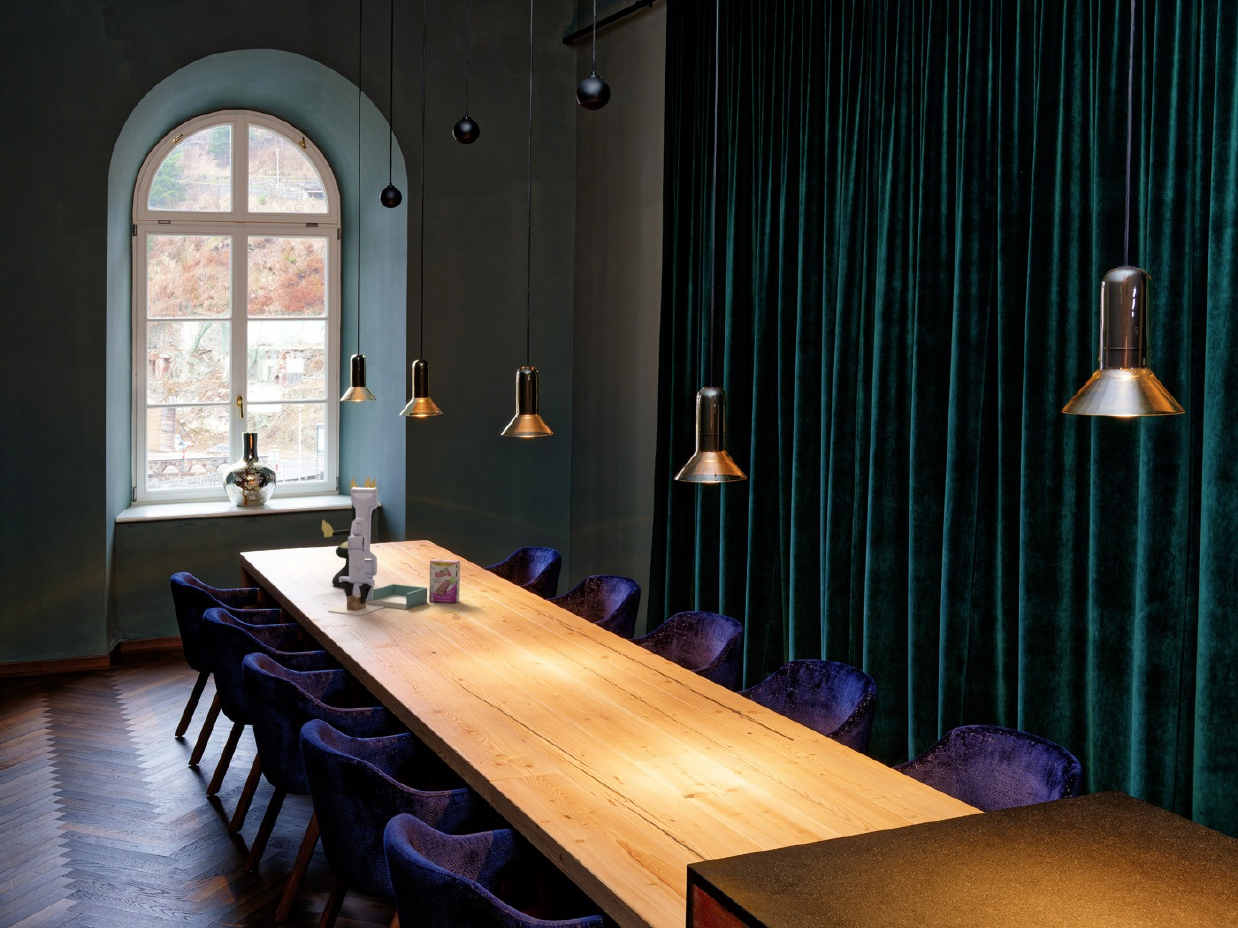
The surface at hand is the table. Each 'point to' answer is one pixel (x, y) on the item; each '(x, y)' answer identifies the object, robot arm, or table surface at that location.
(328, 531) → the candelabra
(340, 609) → the mat
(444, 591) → the candy bar box
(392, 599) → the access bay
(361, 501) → the robot arm
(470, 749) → the table surface
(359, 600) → the walnut block
